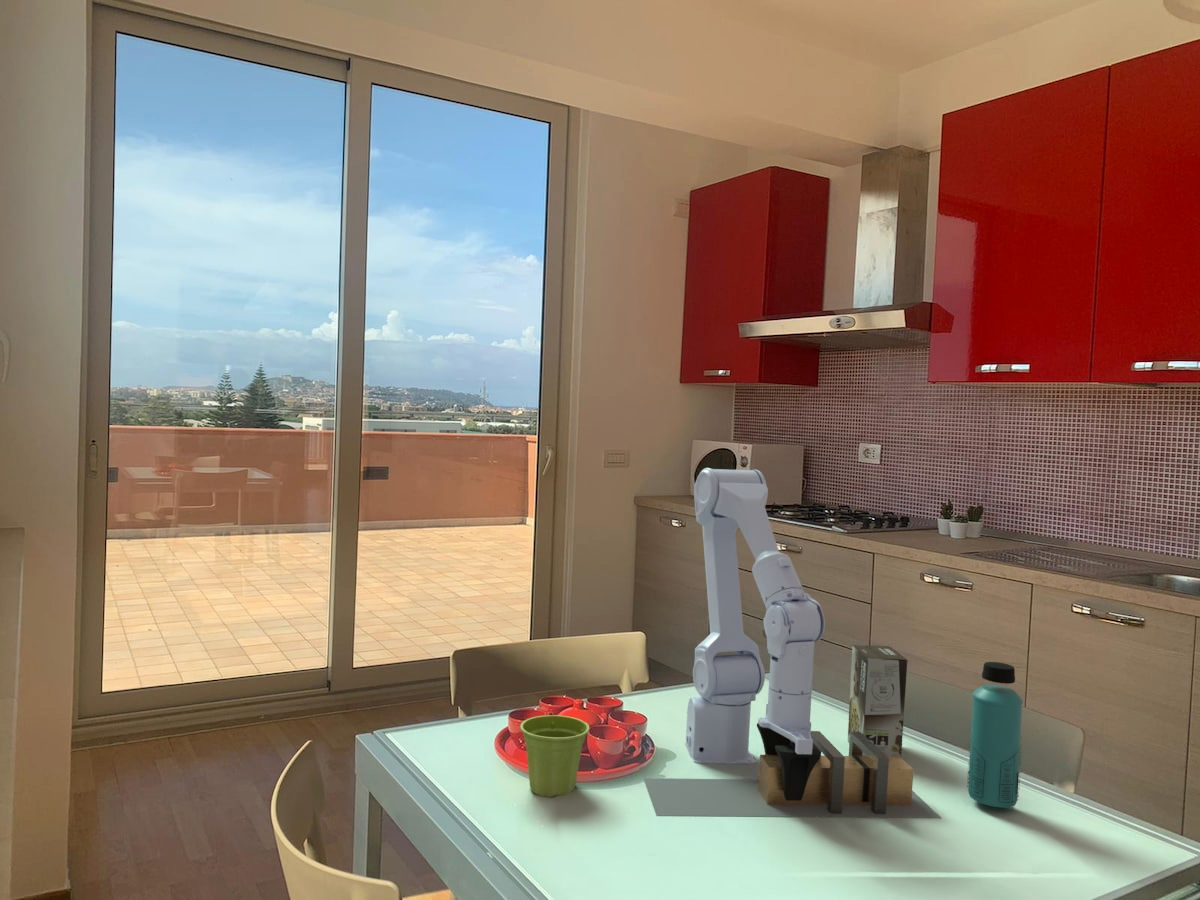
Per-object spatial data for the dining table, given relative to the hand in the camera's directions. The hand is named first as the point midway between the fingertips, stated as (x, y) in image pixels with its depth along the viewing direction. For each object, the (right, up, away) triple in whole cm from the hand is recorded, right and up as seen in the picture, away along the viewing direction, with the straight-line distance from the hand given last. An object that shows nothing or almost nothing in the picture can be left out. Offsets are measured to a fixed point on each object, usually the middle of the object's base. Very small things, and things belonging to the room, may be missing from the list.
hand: (784, 787), depth 121 cm
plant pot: (-32, 0, 0) cm, 32 cm away
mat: (0, -2, 0) cm, 2 cm away
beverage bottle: (+28, -3, +1) cm, 29 cm away
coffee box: (+18, -2, +21) cm, 28 cm away
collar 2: (+11, -2, +1) cm, 12 cm away
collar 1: (+5, -2, +1) cm, 6 cm away
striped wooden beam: (+7, -2, +1) cm, 7 cm away
